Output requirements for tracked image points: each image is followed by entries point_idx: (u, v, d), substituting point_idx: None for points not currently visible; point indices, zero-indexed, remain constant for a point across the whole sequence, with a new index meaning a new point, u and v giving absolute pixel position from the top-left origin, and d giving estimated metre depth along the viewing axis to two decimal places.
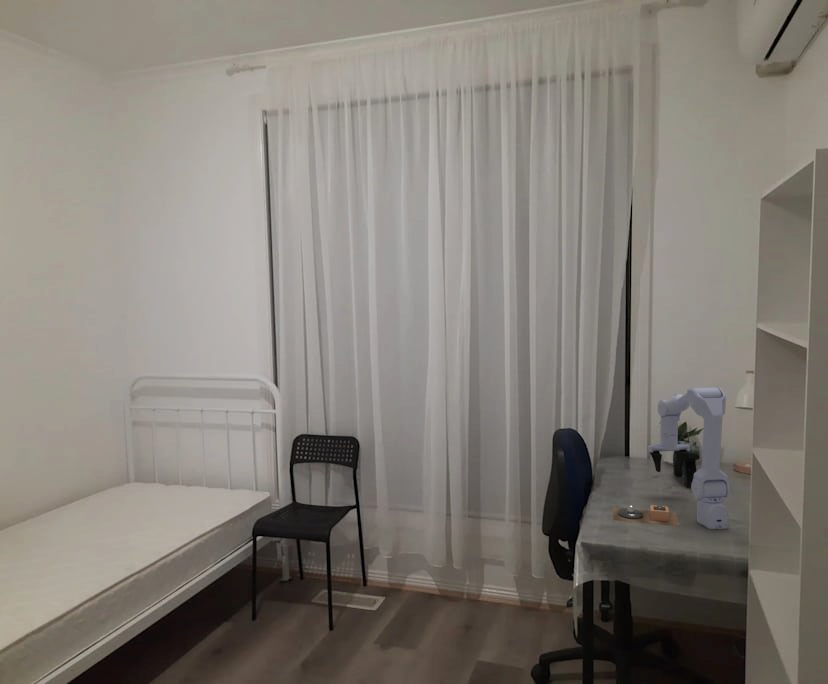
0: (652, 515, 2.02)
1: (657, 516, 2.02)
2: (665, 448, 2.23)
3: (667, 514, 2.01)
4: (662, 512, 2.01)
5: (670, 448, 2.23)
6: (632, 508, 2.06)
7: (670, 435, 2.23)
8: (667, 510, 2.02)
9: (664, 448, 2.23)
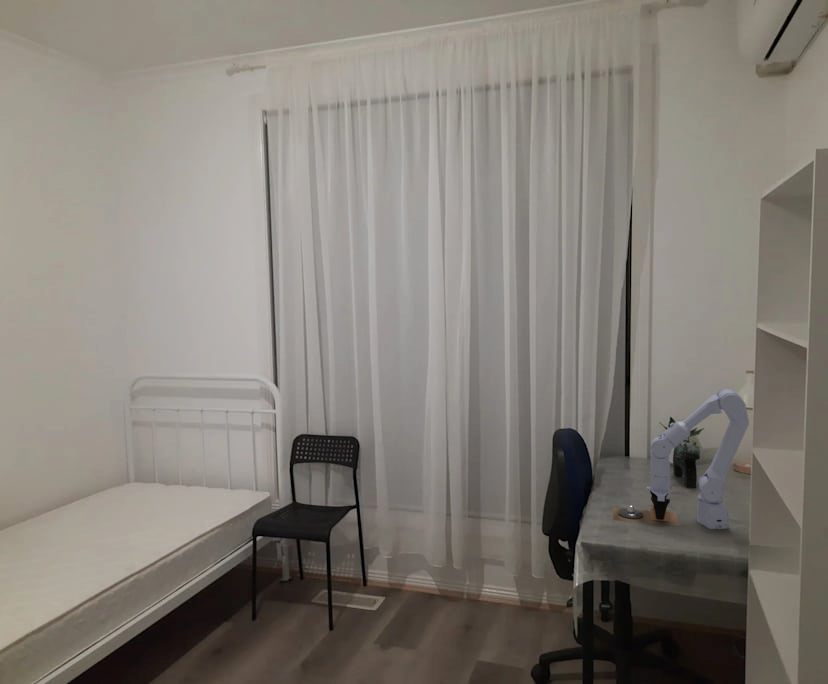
0: (652, 515, 2.02)
1: None
2: (668, 492, 2.01)
3: (667, 514, 2.01)
4: None
5: (669, 490, 2.02)
6: (632, 508, 2.06)
7: (669, 476, 2.02)
8: (667, 510, 2.02)
9: (667, 492, 2.00)
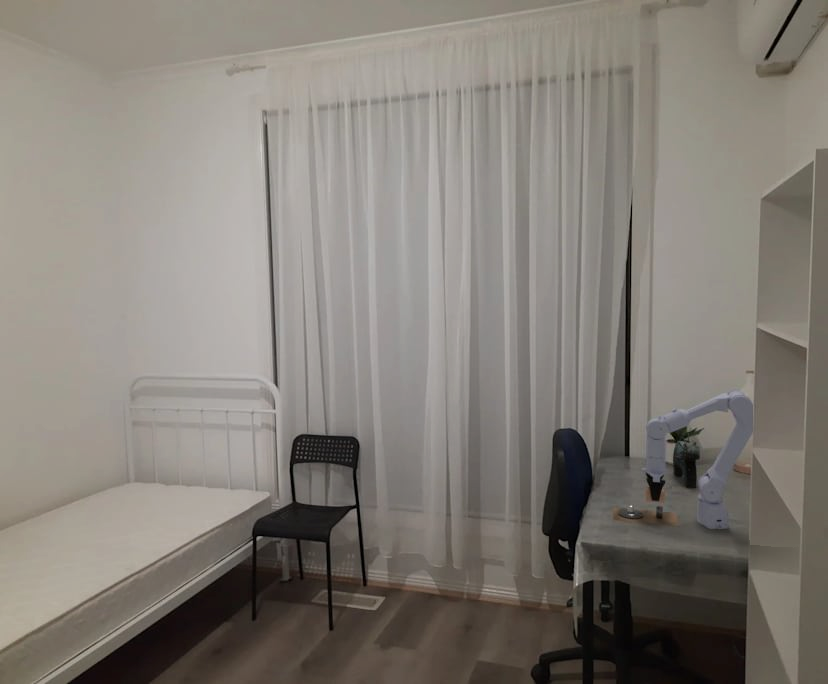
0: (647, 496, 2.02)
1: None
2: (663, 473, 2.01)
3: (662, 495, 2.01)
4: None
5: (665, 471, 2.02)
6: (632, 508, 2.06)
7: None
8: (662, 491, 2.02)
9: (663, 473, 2.00)
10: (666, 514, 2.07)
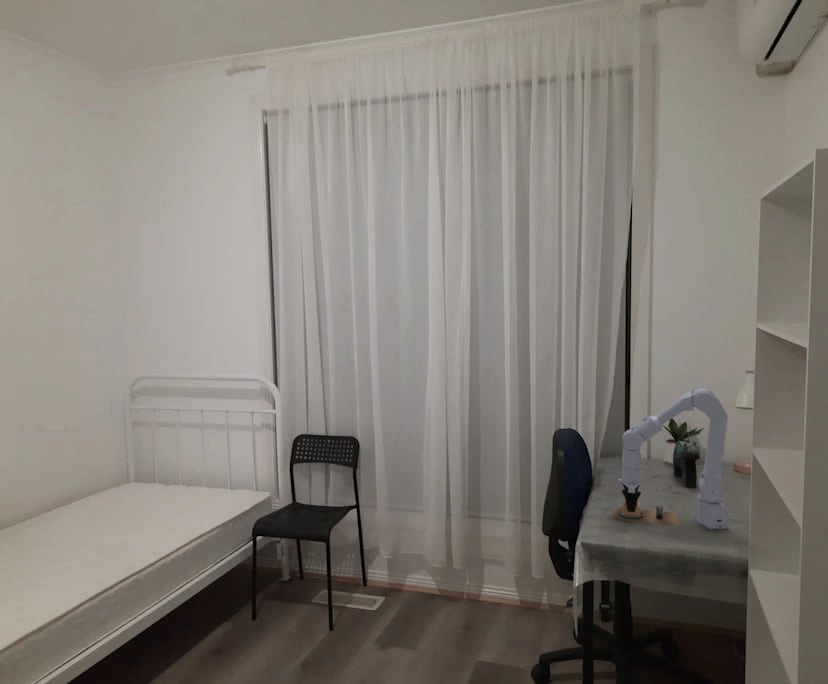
0: (624, 510, 2.05)
1: None
2: (639, 484, 2.03)
3: (638, 509, 2.04)
4: None
5: (640, 482, 2.04)
6: None
7: (640, 468, 2.04)
8: (638, 505, 2.05)
9: (638, 484, 2.03)
10: (666, 514, 2.07)
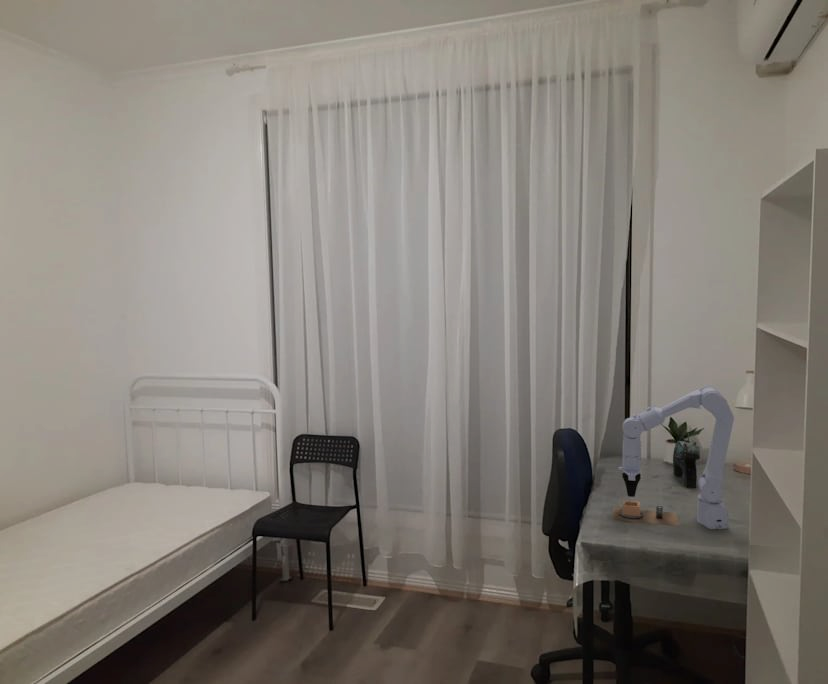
0: (624, 510, 2.05)
1: (628, 511, 2.04)
2: (639, 471, 2.03)
3: (638, 509, 2.04)
4: (633, 507, 2.04)
5: (640, 470, 2.04)
6: None
7: (640, 456, 2.04)
8: (638, 505, 2.05)
9: (639, 472, 2.03)
10: (666, 514, 2.07)
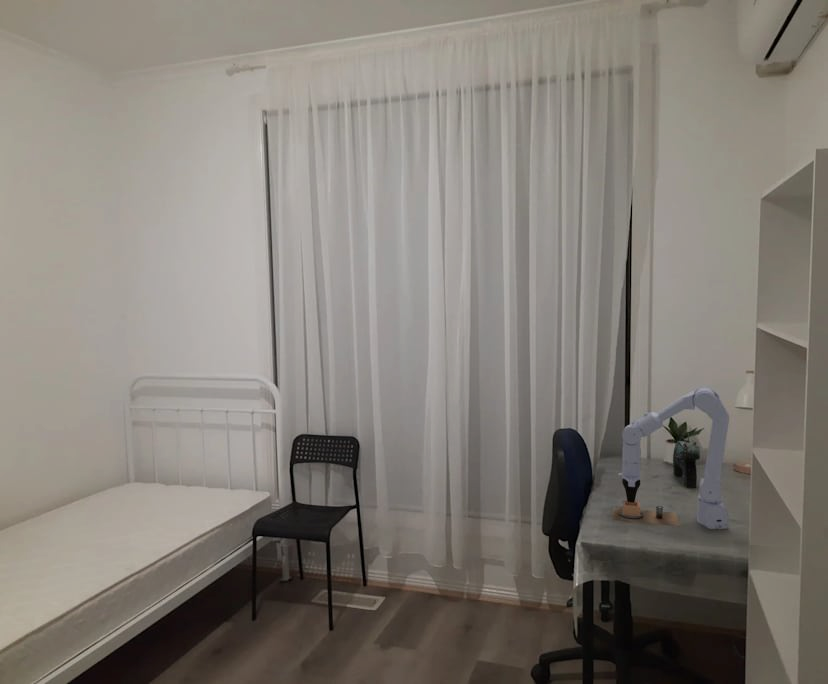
0: (624, 510, 2.05)
1: (628, 511, 2.05)
2: (639, 478, 2.05)
3: (638, 509, 2.04)
4: (633, 507, 2.04)
5: (640, 476, 2.07)
6: None
7: (640, 462, 2.06)
8: (638, 505, 2.05)
9: (638, 478, 2.05)
10: (666, 514, 2.07)
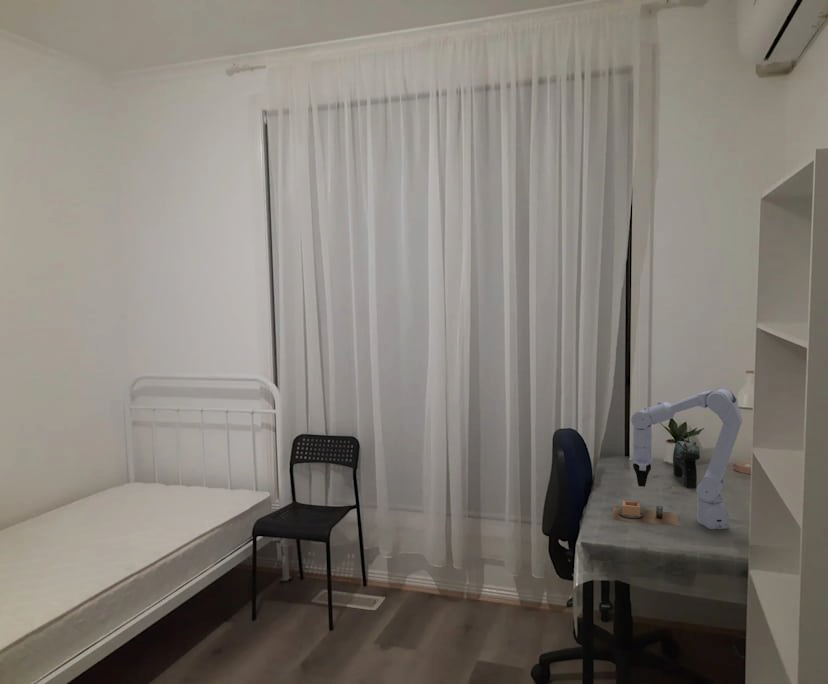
0: (624, 510, 2.05)
1: (628, 511, 2.04)
2: (649, 462, 2.08)
3: (638, 509, 2.04)
4: (633, 507, 2.04)
5: (651, 461, 2.10)
6: None
7: None
8: (638, 505, 2.05)
9: (649, 462, 2.08)
10: (666, 514, 2.07)
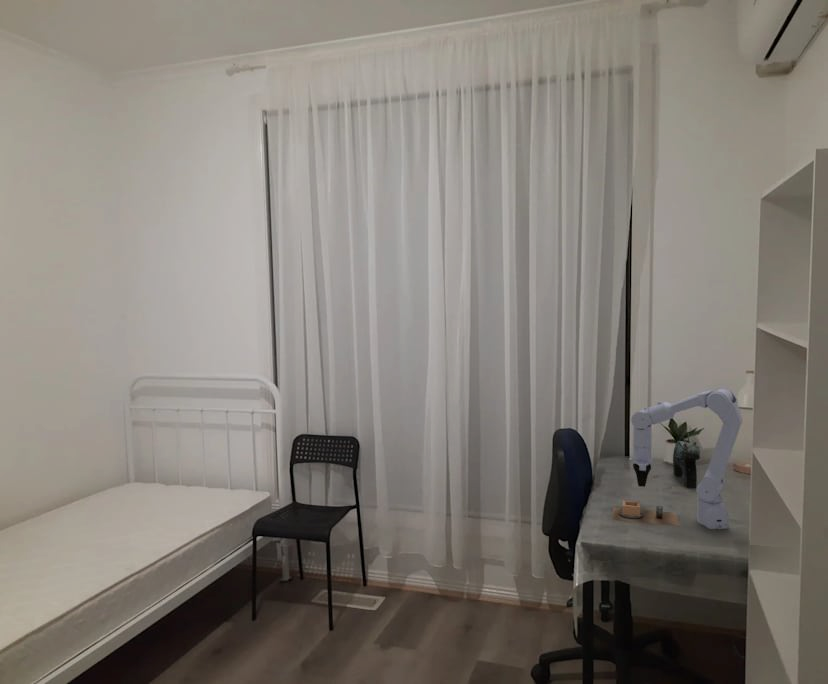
0: (624, 510, 2.05)
1: (628, 511, 2.04)
2: (649, 462, 2.08)
3: (638, 509, 2.04)
4: (633, 507, 2.04)
5: (651, 461, 2.10)
6: None
7: None
8: (638, 505, 2.05)
9: (649, 462, 2.08)
10: (666, 514, 2.07)
